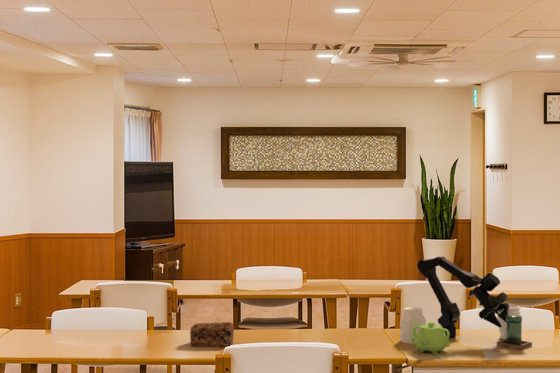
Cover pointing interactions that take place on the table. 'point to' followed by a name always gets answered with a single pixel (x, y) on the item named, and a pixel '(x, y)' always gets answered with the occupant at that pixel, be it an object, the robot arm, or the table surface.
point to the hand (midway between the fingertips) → (506, 325)
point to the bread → (212, 334)
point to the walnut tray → (518, 347)
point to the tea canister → (513, 329)
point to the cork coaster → (495, 349)
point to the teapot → (431, 338)
